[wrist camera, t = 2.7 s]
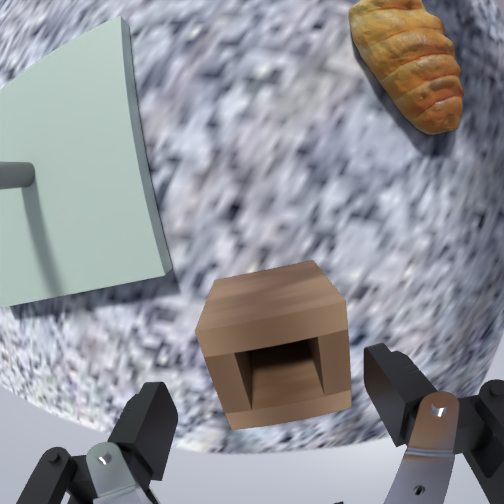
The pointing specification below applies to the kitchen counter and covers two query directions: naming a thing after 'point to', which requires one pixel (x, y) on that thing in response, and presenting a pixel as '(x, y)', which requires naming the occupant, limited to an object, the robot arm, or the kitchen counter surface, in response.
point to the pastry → (410, 61)
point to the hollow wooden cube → (277, 345)
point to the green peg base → (76, 174)
